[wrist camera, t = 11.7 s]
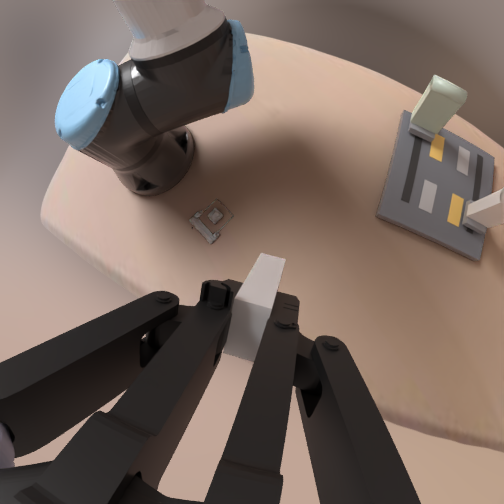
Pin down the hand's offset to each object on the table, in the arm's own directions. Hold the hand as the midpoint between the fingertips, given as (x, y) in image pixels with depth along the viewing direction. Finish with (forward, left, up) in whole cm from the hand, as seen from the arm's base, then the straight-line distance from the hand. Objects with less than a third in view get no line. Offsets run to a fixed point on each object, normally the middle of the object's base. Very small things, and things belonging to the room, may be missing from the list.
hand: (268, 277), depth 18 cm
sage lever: (+2, +33, -25) cm, 42 cm away
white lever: (+18, +27, -25) cm, 41 cm away
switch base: (+11, +29, -27) cm, 41 cm away
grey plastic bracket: (-12, -4, -28) cm, 31 cm away
